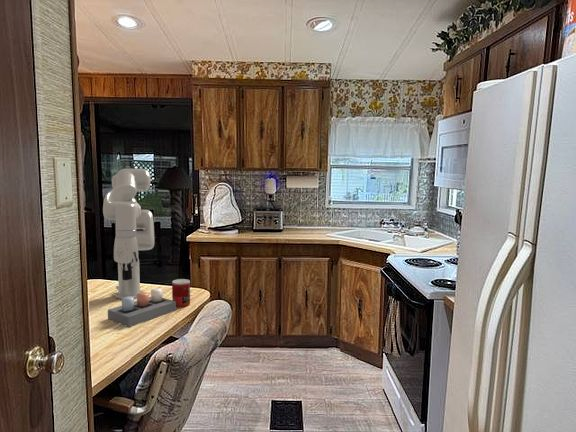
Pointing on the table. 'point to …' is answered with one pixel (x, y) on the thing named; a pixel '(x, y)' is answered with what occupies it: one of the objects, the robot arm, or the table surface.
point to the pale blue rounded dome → (127, 303)
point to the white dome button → (156, 295)
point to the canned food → (181, 292)
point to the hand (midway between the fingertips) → (127, 279)
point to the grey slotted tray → (141, 312)
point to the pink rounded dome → (142, 299)
